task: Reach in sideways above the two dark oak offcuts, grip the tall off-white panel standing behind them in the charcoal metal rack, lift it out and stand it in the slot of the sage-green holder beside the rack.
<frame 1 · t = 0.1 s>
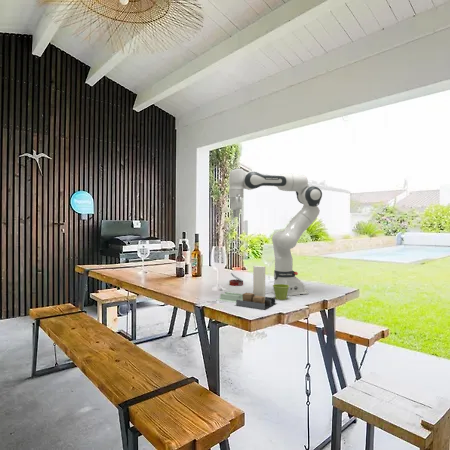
hand: (236, 217, 218), 48 cm above the table, tool pointing down, fingers open, 8 cm apart
panel: (259, 302, 193), point 1 cm above the table, touching rack
offcut 1: (248, 304, 188), point 1 cm above the table, touching rack
rack: (256, 306, 189), on the table
plant pot: (280, 300, 203), on the table
canned food: (236, 285, 250), on the table
offcut 2: (258, 306, 185), point 1 cm above the table, touching rack
holder: (232, 301, 201), on the table
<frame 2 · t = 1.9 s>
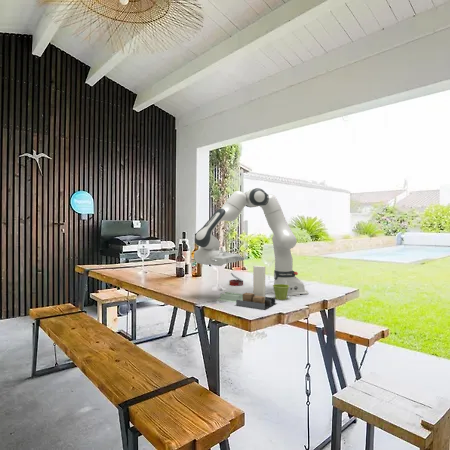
hand: (239, 259, 198), 24 cm above the table, tool horizontal, fingers open, 8 cm apart
nothing on the table moved.
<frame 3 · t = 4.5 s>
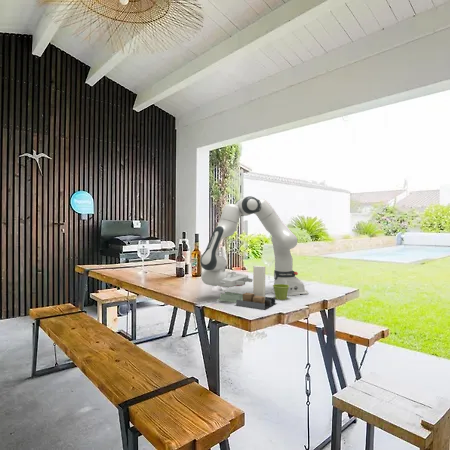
hand: (248, 281, 196), 12 cm above the table, tool horizontal, fingers open, 8 cm apart
nothing on the table moved.
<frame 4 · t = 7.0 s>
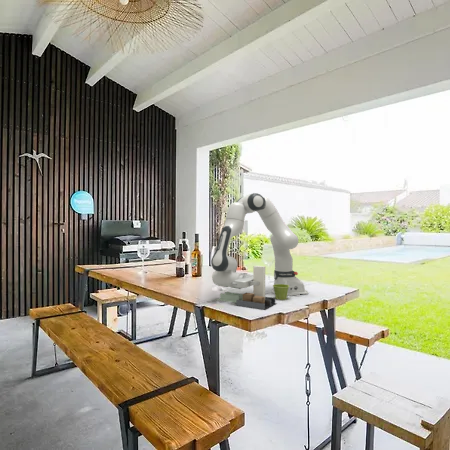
hand: (260, 283, 192), 12 cm above the table, tool horizontal, fingers closed on panel, 2 cm apart
panel: (259, 302, 193), point 1 cm above the table, touching gripper, rack
everything else where it was.
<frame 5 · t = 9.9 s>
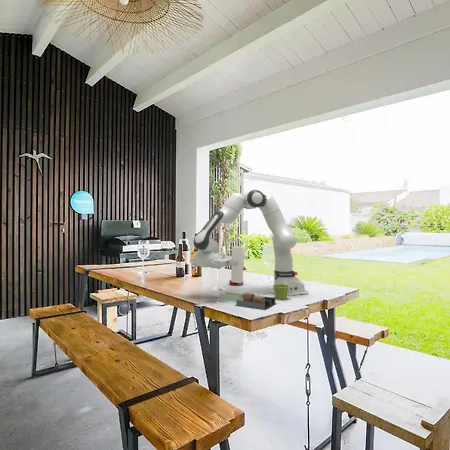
hand: (238, 262, 198), 22 cm above the table, tool horizontal, fingers closed on panel, 2 cm apart
panel: (236, 282, 199), point 11 cm above the table, touching gripper
everything else where it was.
when the fingers open (14 cm above the table, at t = 13.0 s): panel drops 1 cm, resting on holder.
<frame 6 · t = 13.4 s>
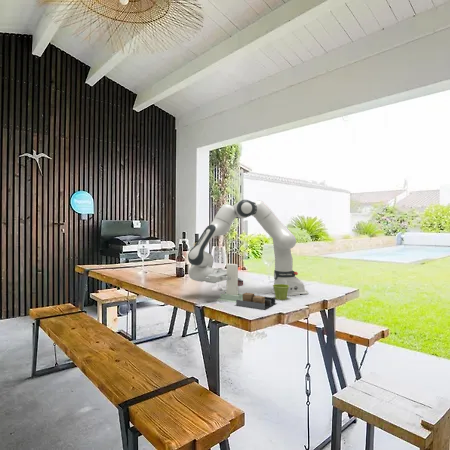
hand: (233, 277, 200), 14 cm above the table, tool horizontal, fingers open, 7 cm apart
panel: (232, 299, 201), point 1 cm above the table, touching holder
everything else where it was.
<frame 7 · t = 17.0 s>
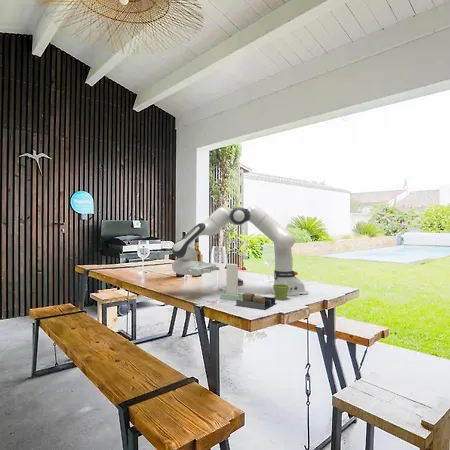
hand: (214, 269, 207), 17 cm above the table, tool horizontal, fingers open, 8 cm apart
nothing on the table moved.
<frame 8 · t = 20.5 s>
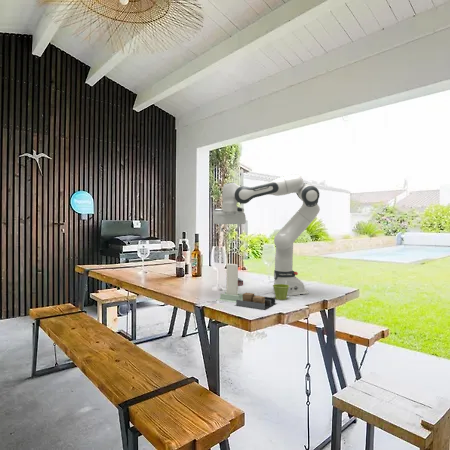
hand: (229, 231, 218), 39 cm above the table, tool pointing down, fingers open, 8 cm apart
nothing on the table moved.
at the end: panel 0.0 cm off-centre on the holder, point 1.2 cm above the holder's base; panel tilted 0°; offcut 1 moved 0.0 cm from its start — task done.
